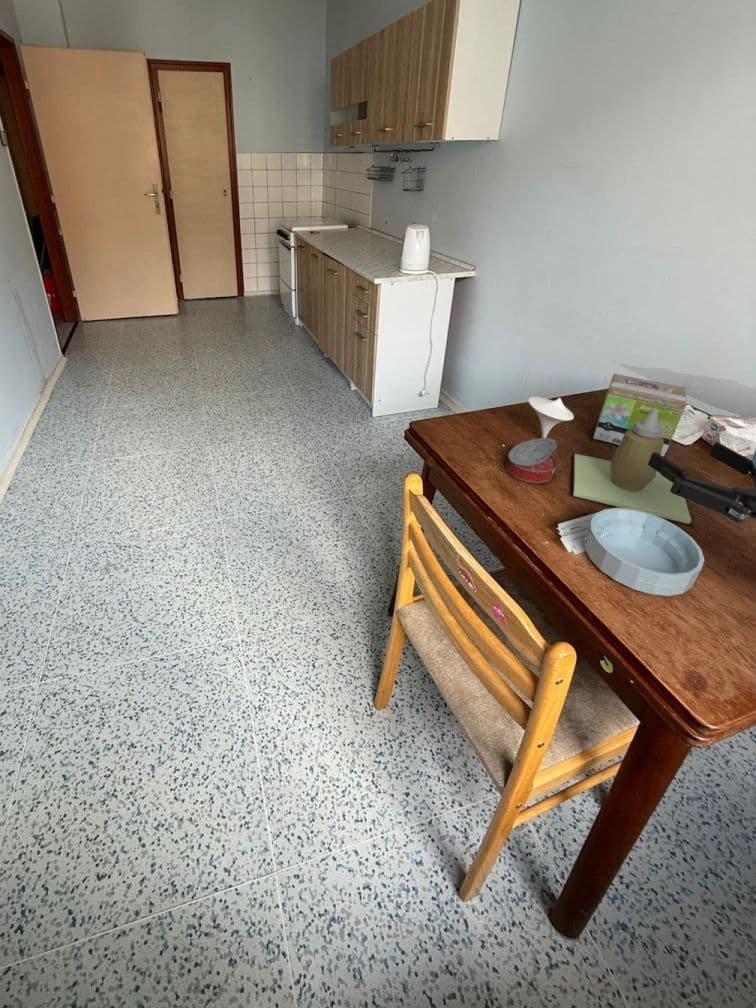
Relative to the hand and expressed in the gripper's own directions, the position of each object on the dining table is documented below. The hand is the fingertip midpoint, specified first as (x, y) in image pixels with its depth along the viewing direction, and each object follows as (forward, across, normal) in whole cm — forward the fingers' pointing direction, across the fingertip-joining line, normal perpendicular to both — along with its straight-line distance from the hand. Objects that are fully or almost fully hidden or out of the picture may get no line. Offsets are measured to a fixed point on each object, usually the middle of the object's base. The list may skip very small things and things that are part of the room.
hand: (682, 453), depth 87 cm
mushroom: (+29, -5, -14) cm, 33 cm away
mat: (+8, 0, -14) cm, 16 cm away
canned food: (+18, -16, -14) cm, 28 cm away
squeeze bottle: (+8, 0, -13) cm, 15 cm away
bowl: (-10, -15, -14) cm, 22 cm away
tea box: (+24, +15, -14) cm, 32 cm away
